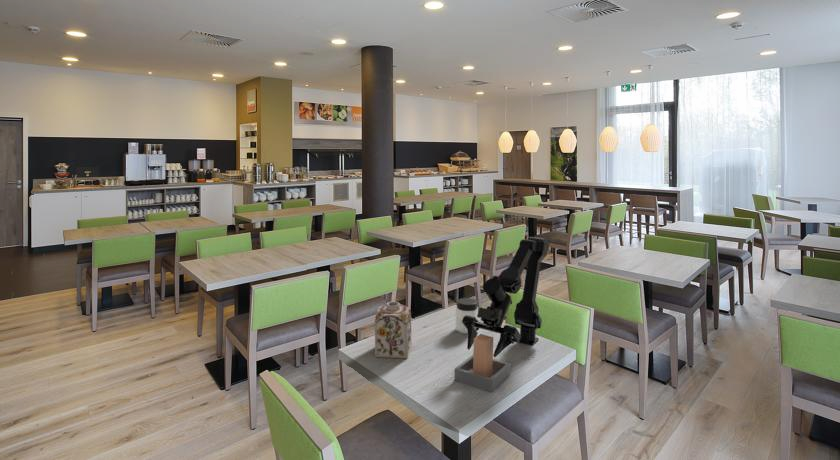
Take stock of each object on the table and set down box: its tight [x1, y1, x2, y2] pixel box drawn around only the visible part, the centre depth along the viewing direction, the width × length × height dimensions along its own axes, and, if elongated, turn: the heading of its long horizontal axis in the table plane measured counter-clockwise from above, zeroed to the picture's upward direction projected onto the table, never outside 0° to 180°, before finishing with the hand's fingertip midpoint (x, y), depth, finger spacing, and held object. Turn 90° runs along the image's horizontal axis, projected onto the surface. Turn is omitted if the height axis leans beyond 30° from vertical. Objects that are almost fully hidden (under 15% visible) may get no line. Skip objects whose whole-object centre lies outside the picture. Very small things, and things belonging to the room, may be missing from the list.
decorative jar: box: [374, 301, 412, 360], centre depth 164 cm, size 12×12×18 cm
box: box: [454, 354, 511, 393], centre depth 147 cm, size 13×13×4 cm
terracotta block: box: [472, 333, 494, 377], centre depth 146 cm, size 4×4×12 cm
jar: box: [455, 297, 479, 335], centre depth 184 cm, size 9×8×12 cm
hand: (481, 352), depth 144 cm, fingers open, 9 cm apart
